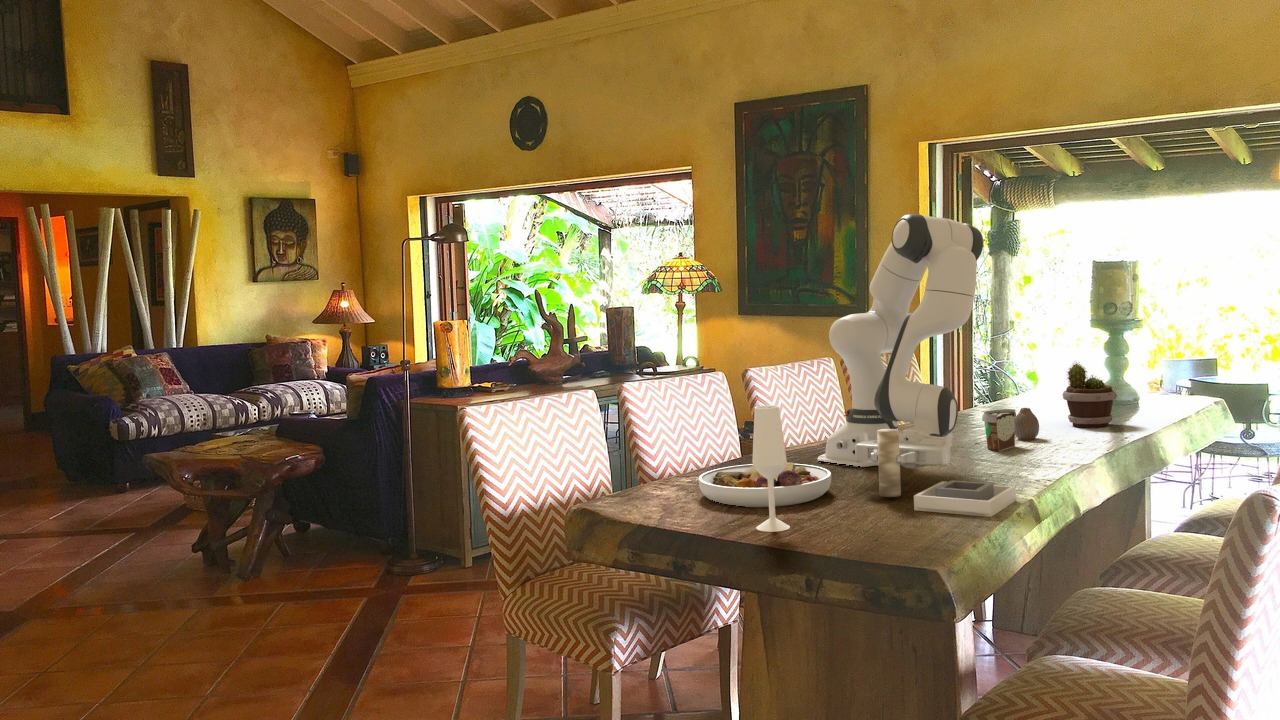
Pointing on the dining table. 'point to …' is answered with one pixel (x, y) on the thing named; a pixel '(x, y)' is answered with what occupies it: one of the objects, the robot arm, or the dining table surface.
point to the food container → (1000, 429)
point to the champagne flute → (769, 457)
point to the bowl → (764, 485)
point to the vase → (1026, 425)
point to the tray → (965, 498)
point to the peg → (888, 462)
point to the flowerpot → (1088, 399)
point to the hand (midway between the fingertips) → (887, 458)
